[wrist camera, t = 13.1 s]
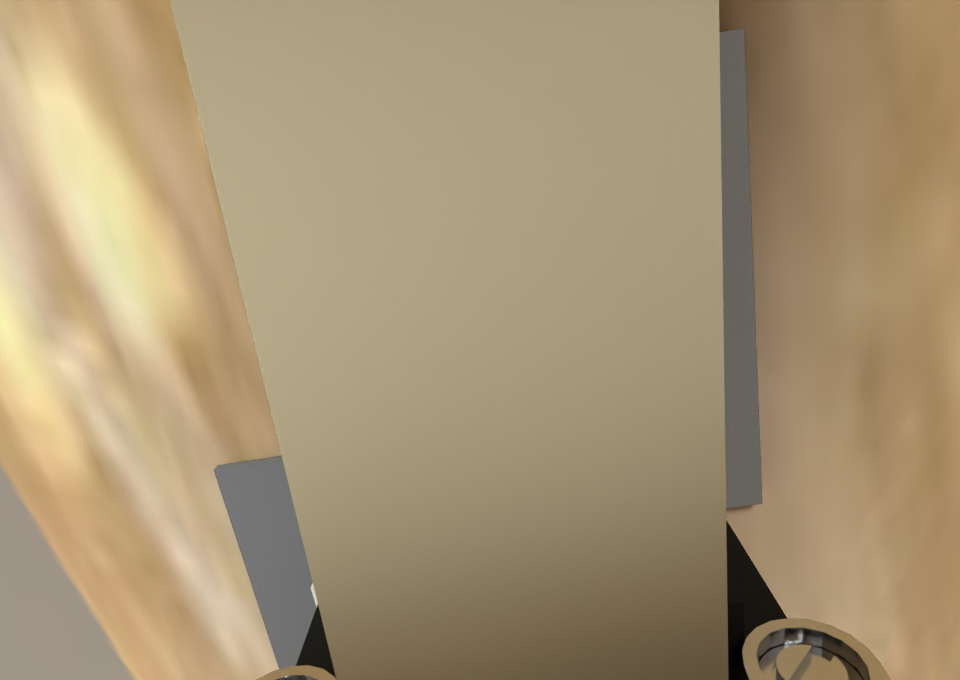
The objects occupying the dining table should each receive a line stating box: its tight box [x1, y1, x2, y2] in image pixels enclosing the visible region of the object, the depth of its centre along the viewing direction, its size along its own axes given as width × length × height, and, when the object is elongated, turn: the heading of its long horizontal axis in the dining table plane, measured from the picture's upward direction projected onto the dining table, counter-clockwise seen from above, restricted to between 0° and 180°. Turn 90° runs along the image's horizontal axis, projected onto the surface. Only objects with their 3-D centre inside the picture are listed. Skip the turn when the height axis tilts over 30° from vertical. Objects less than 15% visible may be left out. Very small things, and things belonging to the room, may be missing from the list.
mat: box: [214, 456, 316, 669], centre depth 35 cm, size 18×16×1 cm
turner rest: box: [719, 28, 762, 509], centre depth 30 cm, size 22×10×1 cm, turn 10°
